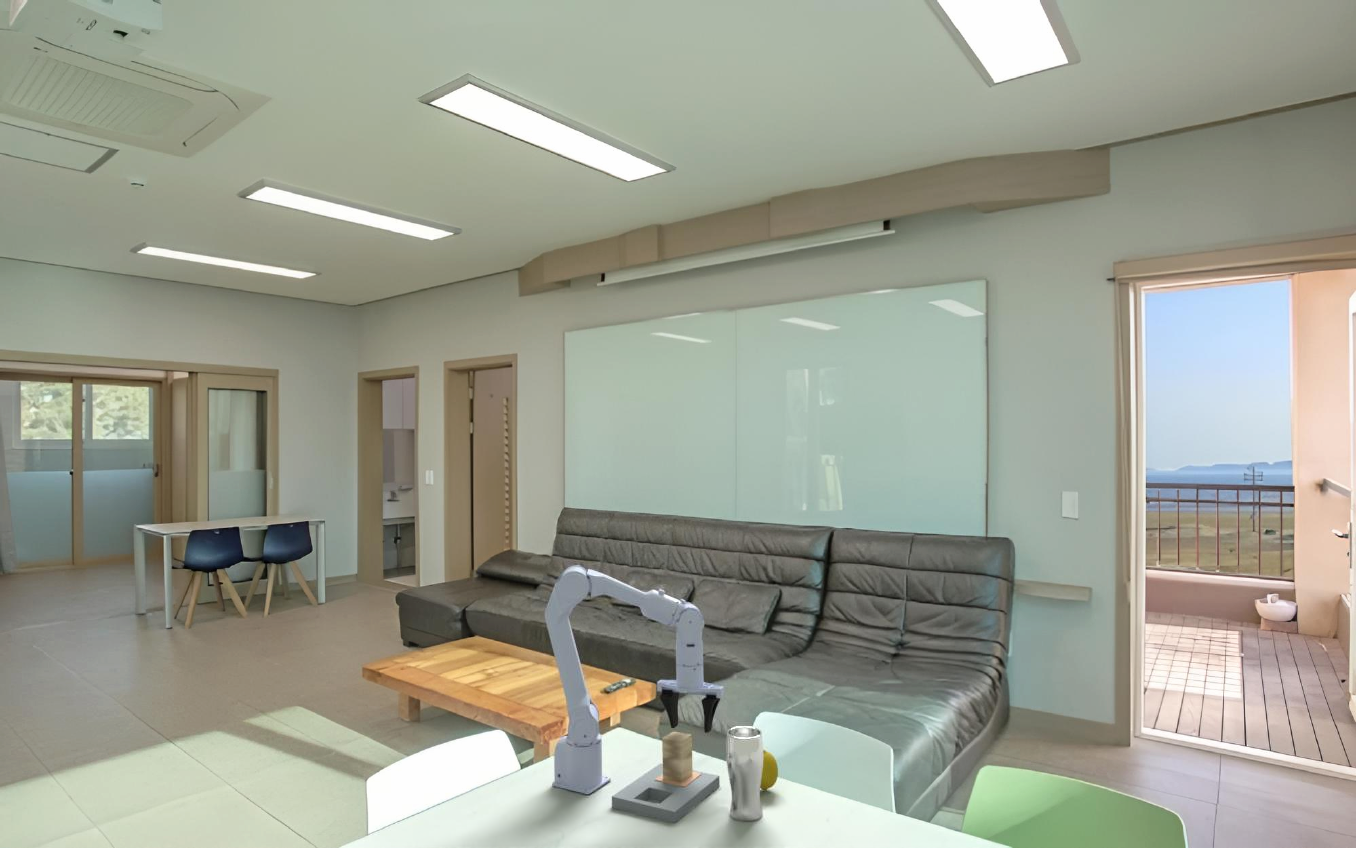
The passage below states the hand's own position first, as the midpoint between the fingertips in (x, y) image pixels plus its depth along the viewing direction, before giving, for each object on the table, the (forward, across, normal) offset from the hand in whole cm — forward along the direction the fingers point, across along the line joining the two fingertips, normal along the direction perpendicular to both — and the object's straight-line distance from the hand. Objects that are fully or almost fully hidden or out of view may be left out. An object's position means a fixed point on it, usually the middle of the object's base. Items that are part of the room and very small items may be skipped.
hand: (691, 729), depth 158 cm
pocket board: (+10, -1, -10) cm, 14 cm away
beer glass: (+10, +16, -11) cm, 22 cm away
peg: (+8, -1, -6) cm, 10 cm away
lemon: (+10, +16, -1) cm, 19 cm away
